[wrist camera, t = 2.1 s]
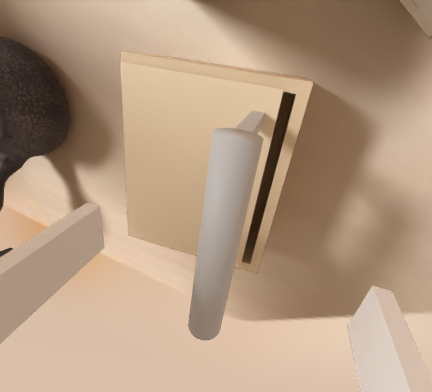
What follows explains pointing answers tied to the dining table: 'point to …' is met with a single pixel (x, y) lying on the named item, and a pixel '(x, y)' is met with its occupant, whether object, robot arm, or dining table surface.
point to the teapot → (27, 109)
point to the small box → (420, 13)
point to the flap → (196, 171)
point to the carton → (280, 144)
